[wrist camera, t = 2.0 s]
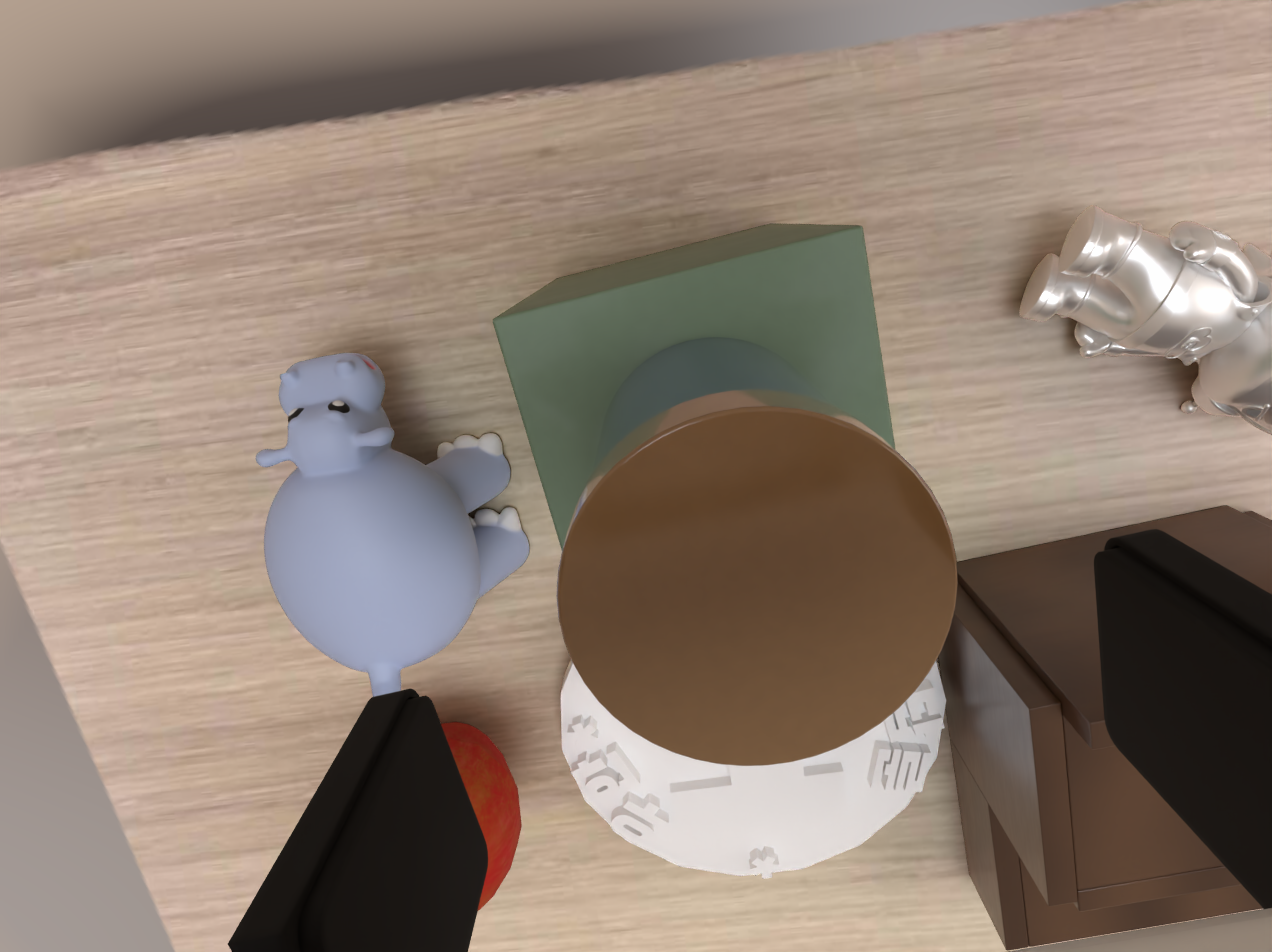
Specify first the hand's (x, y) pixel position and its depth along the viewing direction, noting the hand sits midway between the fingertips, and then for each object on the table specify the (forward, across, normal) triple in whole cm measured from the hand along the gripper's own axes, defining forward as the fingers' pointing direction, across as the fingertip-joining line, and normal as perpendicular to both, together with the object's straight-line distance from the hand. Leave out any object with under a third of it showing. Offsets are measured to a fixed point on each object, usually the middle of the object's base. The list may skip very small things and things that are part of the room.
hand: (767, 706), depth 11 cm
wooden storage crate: (+27, -18, +24) cm, 40 cm away
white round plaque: (+27, 0, +19) cm, 33 cm away
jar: (+12, 0, 0) cm, 12 cm away
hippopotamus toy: (+27, +14, +3) cm, 31 cm away
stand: (+27, 0, 0) cm, 27 cm away
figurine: (+27, -22, +3) cm, 35 cm away
